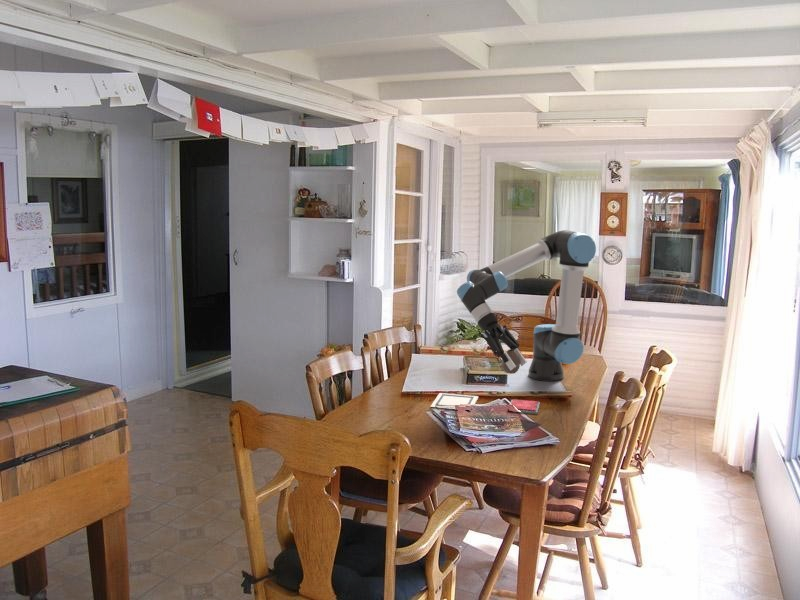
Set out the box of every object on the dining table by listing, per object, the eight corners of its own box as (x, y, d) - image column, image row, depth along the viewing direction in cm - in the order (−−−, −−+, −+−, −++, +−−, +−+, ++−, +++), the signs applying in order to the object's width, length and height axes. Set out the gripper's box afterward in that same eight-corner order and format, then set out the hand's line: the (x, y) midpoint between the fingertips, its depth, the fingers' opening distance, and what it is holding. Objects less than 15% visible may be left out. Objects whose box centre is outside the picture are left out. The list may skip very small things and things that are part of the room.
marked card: (478, 397, 276) (478, 395, 276) (471, 411, 261) (471, 409, 261) (439, 394, 280) (439, 392, 280) (430, 407, 265) (430, 405, 265)
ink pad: (539, 404, 268) (539, 401, 267) (537, 414, 257) (537, 410, 257) (511, 401, 271) (511, 398, 270) (507, 411, 260) (507, 408, 260)
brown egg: (522, 374, 259) (523, 352, 257) (504, 375, 258) (505, 353, 256) (516, 368, 265) (516, 347, 264) (498, 369, 264) (499, 348, 262)
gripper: (493, 318, 275) (526, 365, 268) (463, 327, 261) (497, 377, 254) (505, 307, 271) (539, 355, 263) (475, 316, 256) (510, 366, 249)
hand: (518, 366), depth 258 cm, fingers closed on brown egg, 7 cm apart
